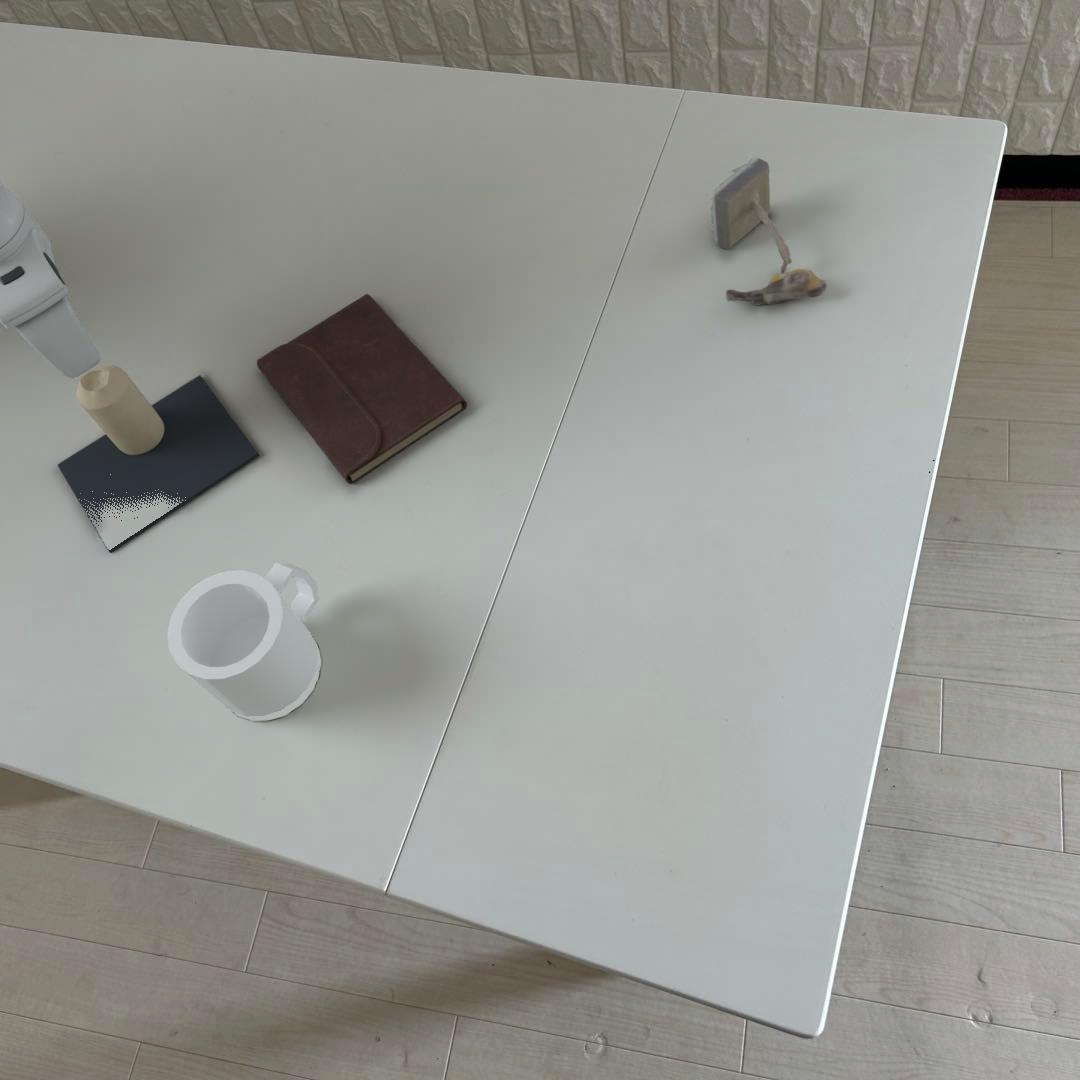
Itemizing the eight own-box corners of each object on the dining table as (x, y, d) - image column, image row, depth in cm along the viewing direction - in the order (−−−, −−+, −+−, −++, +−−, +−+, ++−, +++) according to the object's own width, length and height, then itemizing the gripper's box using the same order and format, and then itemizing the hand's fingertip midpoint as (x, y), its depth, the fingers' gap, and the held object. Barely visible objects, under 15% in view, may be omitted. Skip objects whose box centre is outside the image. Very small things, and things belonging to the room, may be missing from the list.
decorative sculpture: (828, 300, 111) (836, 250, 104) (744, 332, 110) (747, 284, 104) (760, 203, 119) (764, 151, 112) (681, 232, 118) (680, 182, 112)
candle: (161, 407, 115) (117, 349, 107) (168, 445, 112) (124, 389, 104) (113, 424, 115) (65, 367, 106) (119, 462, 112) (70, 407, 104)
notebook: (373, 301, 119) (368, 289, 118) (468, 407, 110) (464, 395, 108) (260, 372, 116) (254, 360, 115) (348, 486, 107) (343, 476, 106)
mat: (110, 553, 107) (108, 551, 107) (59, 467, 114) (56, 464, 113) (259, 455, 111) (257, 453, 110) (201, 377, 117) (199, 374, 117)
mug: (277, 577, 103) (235, 523, 94) (361, 616, 100) (327, 565, 91) (195, 694, 98) (143, 650, 89) (281, 740, 95) (236, 699, 86)
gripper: (-71, 209, 101) (12, 306, 113) (4, 330, 91) (86, 421, 103) (-12, 176, 102) (64, 275, 114) (68, 291, 93) (141, 386, 105)
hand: (75, 346), depth 109 cm, fingers closed
